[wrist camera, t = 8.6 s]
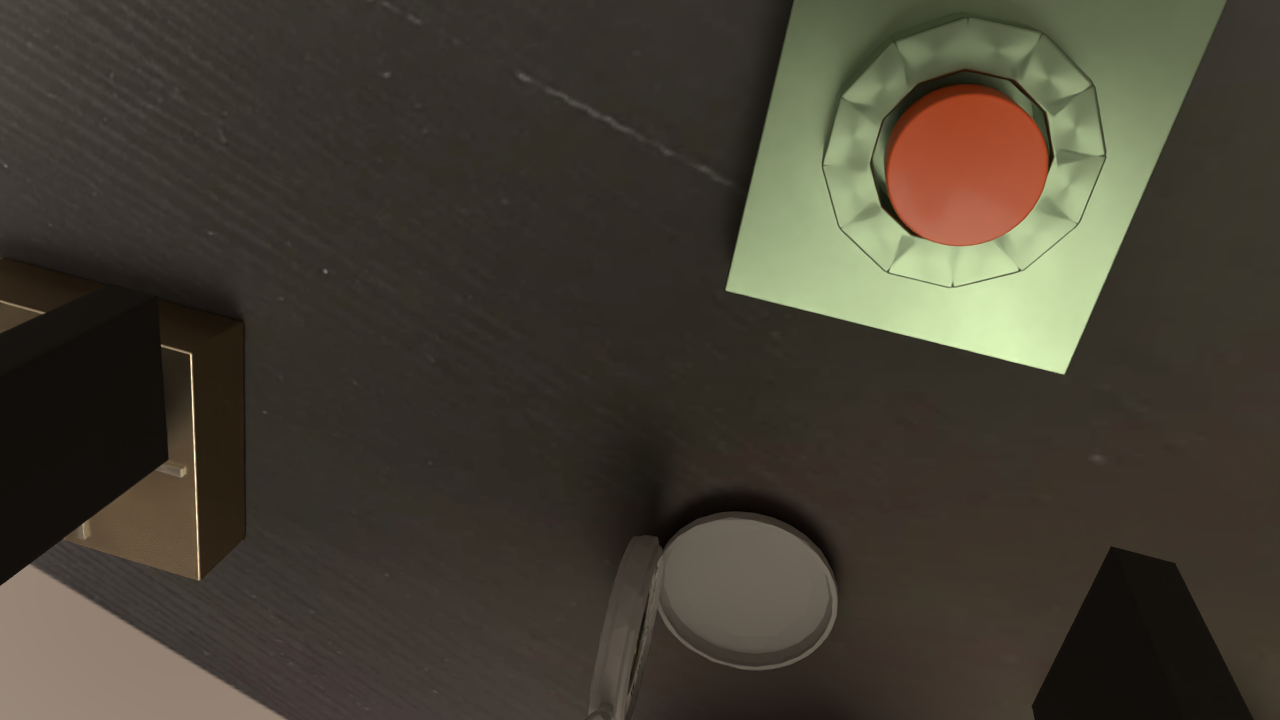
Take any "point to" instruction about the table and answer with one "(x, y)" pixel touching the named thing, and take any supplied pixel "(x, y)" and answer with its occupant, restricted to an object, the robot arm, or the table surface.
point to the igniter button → (965, 165)
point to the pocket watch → (713, 602)
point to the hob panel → (196, 432)
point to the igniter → (889, 84)
